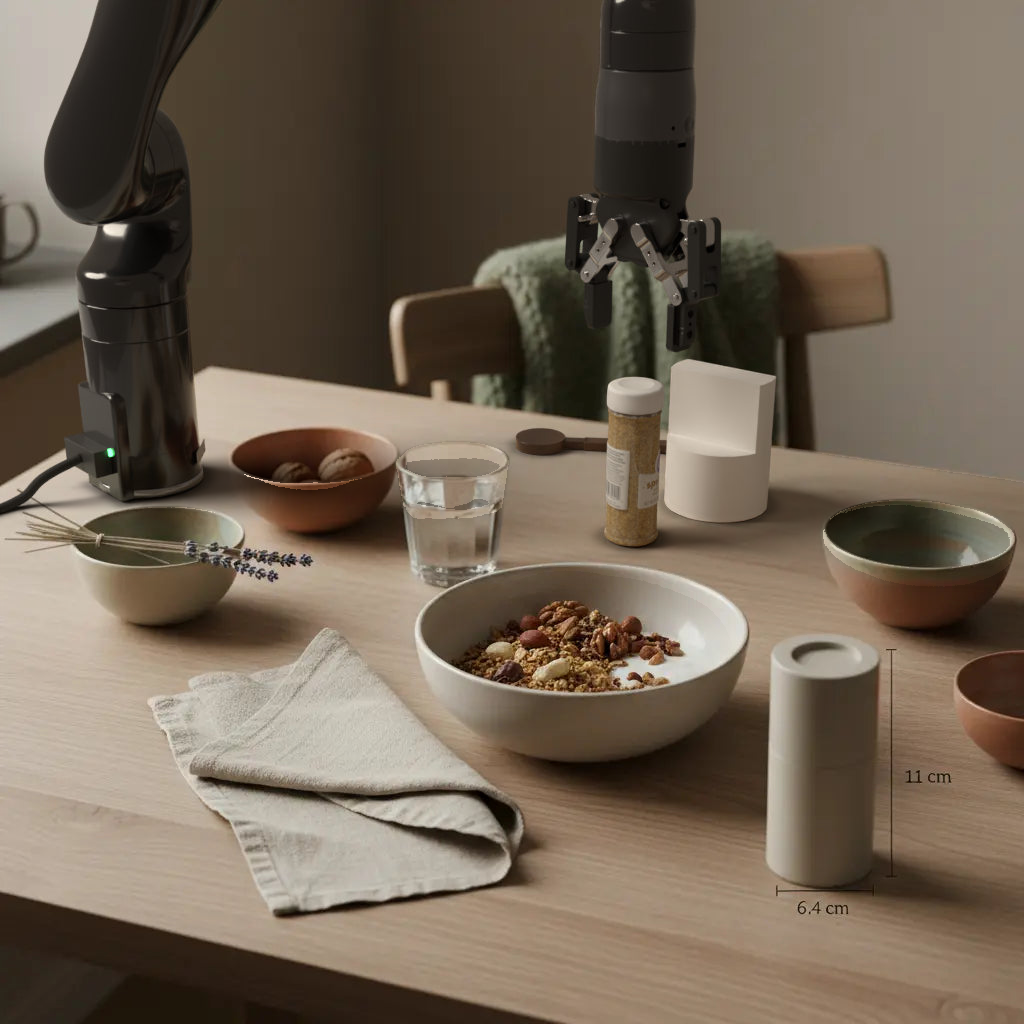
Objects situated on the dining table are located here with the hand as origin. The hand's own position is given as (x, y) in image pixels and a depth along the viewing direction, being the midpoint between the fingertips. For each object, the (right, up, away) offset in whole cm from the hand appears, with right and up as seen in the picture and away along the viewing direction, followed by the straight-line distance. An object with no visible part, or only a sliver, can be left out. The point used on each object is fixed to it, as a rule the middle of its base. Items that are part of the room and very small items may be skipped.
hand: (638, 338), depth 119 cm
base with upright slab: (+8, -13, +14) cm, 21 cm away
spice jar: (0, -16, +7) cm, 17 cm away
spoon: (-1, -8, +26) cm, 27 cm away
